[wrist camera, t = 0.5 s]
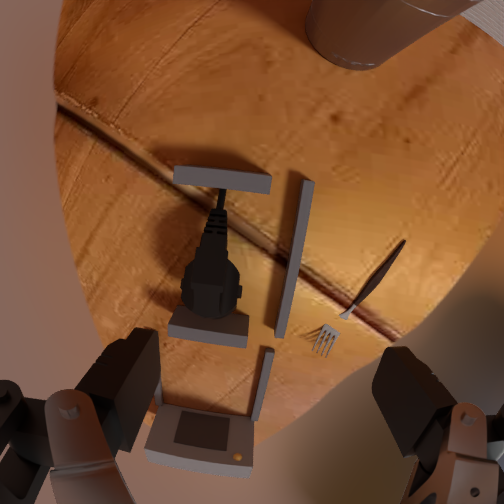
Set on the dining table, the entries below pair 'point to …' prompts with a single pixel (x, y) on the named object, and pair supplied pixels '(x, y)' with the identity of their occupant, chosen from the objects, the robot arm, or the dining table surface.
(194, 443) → the socket block
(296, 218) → the plug holster
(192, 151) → the dining table surface
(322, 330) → the fork
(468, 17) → the stack of papers
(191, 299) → the power plug
